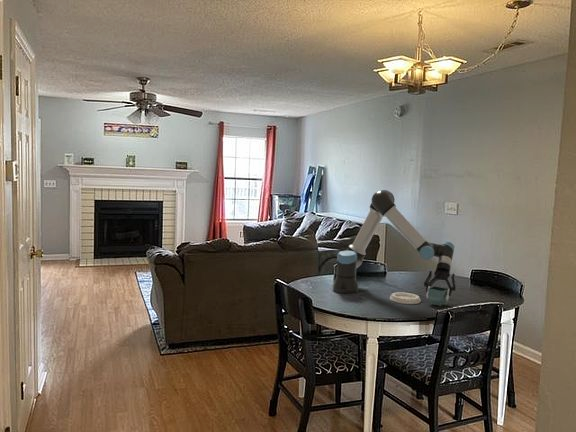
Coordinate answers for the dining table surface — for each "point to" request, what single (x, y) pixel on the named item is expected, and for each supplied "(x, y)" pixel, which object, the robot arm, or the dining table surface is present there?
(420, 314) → the dining table surface
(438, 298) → the flower pot
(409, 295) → the plant saucer
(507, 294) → the dining table surface
